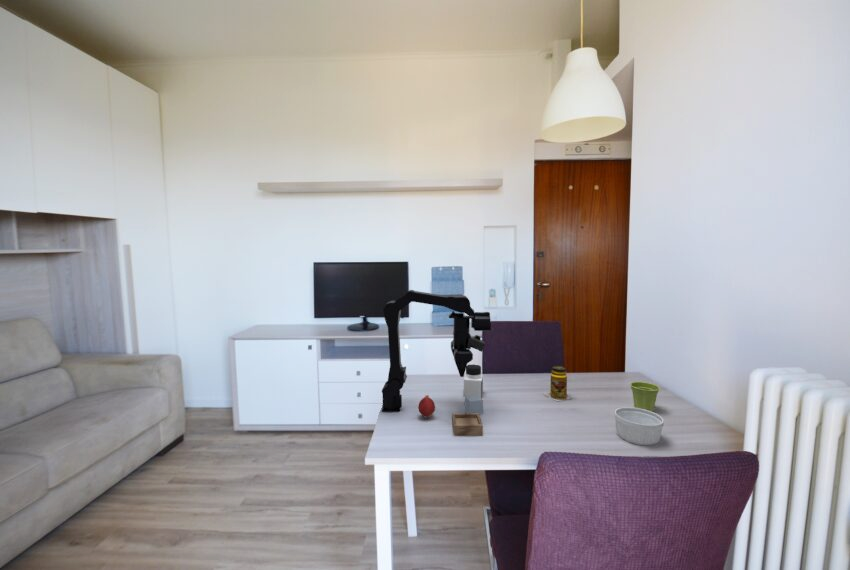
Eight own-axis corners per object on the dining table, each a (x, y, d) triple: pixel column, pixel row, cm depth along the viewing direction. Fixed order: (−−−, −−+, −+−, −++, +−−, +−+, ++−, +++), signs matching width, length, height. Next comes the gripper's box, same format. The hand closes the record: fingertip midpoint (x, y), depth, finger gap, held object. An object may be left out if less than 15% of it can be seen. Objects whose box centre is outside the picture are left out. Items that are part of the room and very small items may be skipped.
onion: (423, 422, 127) (422, 399, 126) (415, 416, 132) (415, 393, 132) (438, 418, 130) (437, 396, 129) (430, 412, 135) (430, 391, 134)
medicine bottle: (481, 397, 149) (481, 368, 148) (463, 396, 150) (463, 367, 149) (482, 391, 156) (482, 363, 155) (465, 390, 157) (465, 362, 156)
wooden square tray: (454, 437, 118) (453, 425, 117) (452, 424, 126) (452, 413, 126) (482, 436, 117) (482, 425, 117) (478, 424, 126) (478, 413, 126)
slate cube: (469, 415, 133) (469, 401, 132) (464, 409, 138) (464, 396, 137) (482, 413, 134) (482, 399, 134) (477, 408, 139) (477, 394, 139)
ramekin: (674, 445, 111) (675, 422, 110) (635, 450, 108) (636, 427, 107) (639, 425, 124) (640, 405, 123) (604, 429, 121) (604, 408, 120)
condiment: (557, 401, 144) (558, 371, 143) (542, 394, 152) (543, 365, 151) (572, 398, 147) (572, 368, 146) (556, 391, 155) (557, 363, 154)
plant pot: (627, 402, 143) (627, 380, 142) (655, 405, 139) (656, 383, 139) (631, 412, 134) (632, 388, 133) (662, 416, 131) (663, 391, 130)
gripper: (488, 336, 126) (487, 381, 127) (479, 325, 145) (478, 365, 146) (455, 335, 126) (454, 381, 127) (450, 325, 145) (450, 365, 146)
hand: (460, 372), depth 137 cm, fingers open, 9 cm apart
